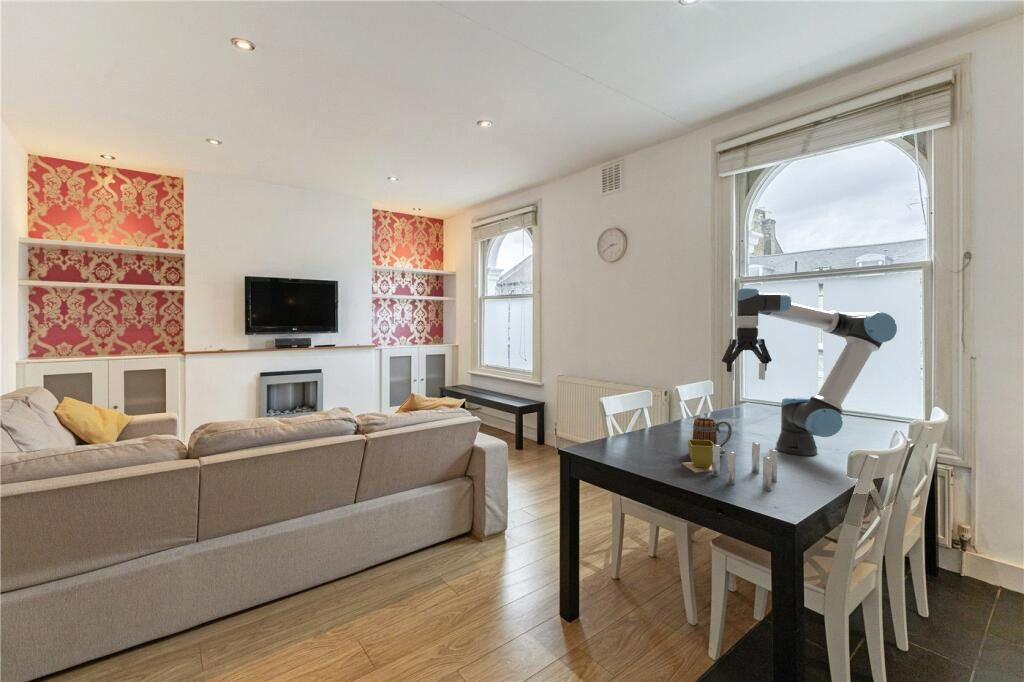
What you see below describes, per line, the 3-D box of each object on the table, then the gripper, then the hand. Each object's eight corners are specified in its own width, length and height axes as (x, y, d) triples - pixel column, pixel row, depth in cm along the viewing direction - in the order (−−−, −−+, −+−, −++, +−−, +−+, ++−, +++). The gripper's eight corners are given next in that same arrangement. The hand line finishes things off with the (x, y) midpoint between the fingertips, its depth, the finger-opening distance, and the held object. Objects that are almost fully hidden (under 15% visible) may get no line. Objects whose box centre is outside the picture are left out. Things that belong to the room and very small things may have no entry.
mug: (692, 457, 188) (693, 421, 187) (689, 450, 198) (689, 416, 197) (733, 460, 184) (734, 423, 183) (728, 452, 194) (728, 418, 194)
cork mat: (705, 462, 181) (705, 461, 181) (720, 471, 171) (720, 469, 171) (681, 464, 180) (681, 462, 180) (695, 472, 170) (695, 470, 170)
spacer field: (756, 471, 171) (756, 442, 170) (794, 489, 152) (795, 457, 152) (710, 473, 168) (711, 444, 168) (744, 493, 149) (744, 460, 149)
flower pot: (716, 470, 170) (716, 446, 170) (691, 468, 172) (691, 445, 172) (710, 463, 179) (711, 440, 179) (687, 461, 181) (687, 439, 180)
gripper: (769, 326, 188) (768, 377, 189) (713, 327, 184) (712, 379, 185) (782, 326, 180) (781, 380, 181) (724, 327, 177) (723, 381, 178)
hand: (746, 379), depth 183 cm, fingers open, 13 cm apart
